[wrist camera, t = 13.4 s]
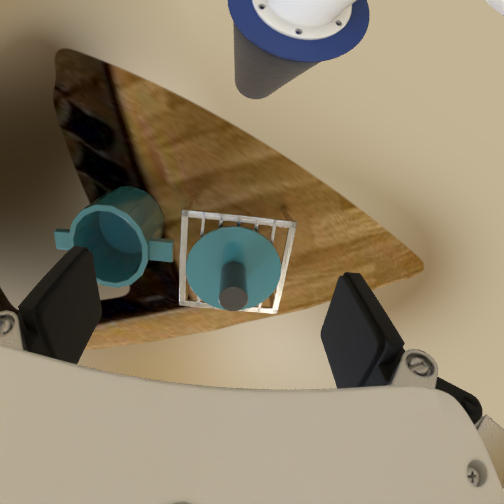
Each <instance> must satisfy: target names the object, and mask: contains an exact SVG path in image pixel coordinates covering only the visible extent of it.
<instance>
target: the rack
mask: <svg viewBox="0 0 504 504" xmlns="http://www.w3.org/2000/svg"><path fill="white" fill-rule="evenodd" d="M195 202H196V198H195V197H191V198H190V200H189V202H188V204H187V206H186V208H185V209H182V217H181V240H180V277H179V305H183V306H192V307H202V308H212V309H219V308H216V307H213V306H211V305H209V304H207V303H206V302H204V301H200V298H199V297H198V296H197V301H196V300H187V297H188V292H189V288H190V285H189V282H188V279H187V278H186V262H187V242H188V223H189V217H192V218H202V222H201V235H200V238H201V237H202V236H203V235H204V231H205V219H213V220H220V221H219V228H221V227H222V226H223V221H232V222H237V226H241V222H242V223H251V224H255V226H254V231H257V232H258V225H259V224H260V225H269V226H272V230H271V236H270V242H271V243H272V244H273V241H274V235H275V230H276V226H277V227H286V228H288V232H287V237H286V242H285V247H284V252H283V257H282V262H281V276H280V280H279V283H278V285H277V287H276V291H275V296H274V293H272V294H271V295H270V296H269V302H270V307H264V306H261V305H262V303H260V304H258V306H254V307H252V308H248V309H244V310H238V311H246V312H259V313H274V314H277V312H278V308H279V303H280V299H281V294H282V290H283V286H284V281H285V277H286V272H287V267H288V263H289V258H290V254H291V249H292V244H293V239H294V234H295V230H296V225H297V222H296V221H293V219H292V217H291V216H290V214H289V212H288V210H287V208H286V207H282V209H281V211H282V214H283V216H284V218H285V220H282V219H274V218H265V217H257V216H248V215H239V214H229V213H220V212H210V211H199V210H192V209H193V206H194V204H195ZM222 310H223V309H222Z"/></svg>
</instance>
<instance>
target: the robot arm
mask: <svg viewBox="0 0 504 504" xmlns="http://www.w3.org/2000/svg"><path fill="white" fill-rule="evenodd" d="M355 1H356V0H252V3H253V6H254V9H255V10H256V12H257V14H258V16H259V17H260V18H261V19H262V20H263V21H264V22H265V23H266V24H267V25H268V26H270V27H271V28H272V29H274V30H276V31H277V32H279V33H281V34H284V35H286V36H289V37H292V38H296V39H303V40H318V39H323V38H327V37H329V36H332V35H334V34H335V33H337V32H338V31H340V30H341V29H342V28H343V27H344V26H345V25H346V24H347V22H348V21H349V18H350V16H351V11H352V4H353V3H354V2H355ZM485 1H486V2H487V3H488V4H489V5H490V6H491V7H493V8H494V9H495V10H496V11H498V12H499V13H501V14H502V15H503V16H504V0H485ZM261 7H262V8H263V9H260V8H261ZM336 23H337V24H338V25H337V24H336ZM296 32H299V34H297V33H296ZM18 308H19V311H20V313H19V314H18V315H16V314H15V313H14V312H11V311H1V312H0V504H504V492H503V488H504V429H503V428H501V427H500V426H499V425H498V424H497V423H496V422H495V421H493V420H492V419H491V418H490V417H489V416H487V415H485V416H484V417H483V416H482V407H481V404H480V403H479V401H478V399H477V398H476V397H475V396H473V395H472V394H470V393H468V392H466V391H464V390H462V389H460V388H458V387H456V386H454V385H452V384H451V383H448V382H447V381H445V380H443V379H441V378H439V377H437V375H438V366H437V363H436V362H435V360H434V359H433V358H432V357H431V356H430V355H429V354H427V353H425V352H424V351H421V350H417V349H410V350H407V351H405V350H404V348H403V345H404V341H403V340H402V338H401V336H400V335H399V333H398V331H397V330H396V328H395V327H394V325H393V324H392V322H391V320H390V319H389V317H388V315H387V314H386V312H385V311H384V309H383V307H382V306H381V305H380V303H379V301H378V300H377V298H376V297H375V295H374V294H373V292H372V291H371V289H370V288H369V286H368V285H367V283H366V282H365V280H364V279H363V277H362V276H361V274H360V273H349V272H346V273H344V275H343V276H340V277H339V279H338V281H337V285H336V288H335V291H334V294H333V297H332V300H331V303H330V306H329V309H328V312H327V315H326V318H325V321H324V324H323V326H322V330H321V339H322V342H323V345H324V348H325V351H326V354H327V357H328V361H329V363H330V366H331V370H332V373H333V376H334V379H335V382H336V386H337V389H311V390H270V389H243V388H226V387H213V386H201V385H192V384H183V383H175V382H167V381H160V380H153V379H147V378H141V377H135V376H129V375H123V374H118V373H113V372H108V371H103V370H98V369H94V368H90V367H86V366H81V365H77V363H78V361H79V359H80V357H81V355H82V353H83V351H84V349H85V347H86V345H87V343H88V341H89V339H90V337H91V335H92V333H93V331H94V329H95V327H96V326H97V324H98V322H99V320H100V318H101V315H102V307H101V302H100V297H99V292H98V286H97V279H96V273H95V266H94V258H93V253H92V252H90V251H89V249H88V248H87V247H80V246H73V247H72V248H71V249H70V250H69V251H68V252H67V253H66V254H65V255H64V256H63V257H62V258H61V259H60V260H59V261H58V262H57V263H56V265H55V266H54V267H53V268H52V269H51V270H50V271H49V272H48V273H47V274H46V275H45V276H44V277H43V279H42V280H41V281H40V282H39V283H38V284H37V285H36V286H35V287H34V289H33V290H32V291H31V292H30V293H29V294H28V296H27V297H26V298H25V299H24V300H23V301H22V303H21V304H20V305H19V306H18Z"/></svg>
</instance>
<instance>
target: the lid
mask: <svg viewBox="0 0 504 504" xmlns="http://www.w3.org/2000/svg"><path fill="white" fill-rule="evenodd" d="M186 275H187V279H188V282H189V285H190V287H191V288H192V290H193V291H194V293H195V294H196V295H197V296H198V297H199V298H200V299H201V300H203V301H204V302H206V303H207V304H209V305H211V306H213V307H216V308H219V309H223V310H229V311H238V310H244V309H248V308H252V307H254V306H256V305H258V304H260V303H262V302H263V301H265V300H266V299H267V298H268V297H269V296H270V295H271V294H272V293H273V292H274V290H275V289H276V287H277V285H278V283H279V280H280V276H281V262H280V258H279V255H278V252H277V250H276V248H275V247H274V246H273V244H272V243H271V242H270V241H269V240H268V239H267V238H266V237H265V236H263V235H262V234H260V233H259V232H257V231H254V230H252V229H249V228H246V227H240V226H227V227H221V228H218V229H215V230H212V231H210V232H208V233H206V234H205V235H203V236H202V237H201V238H200V239H199V240H197V242H196V243H195V244H194V245H193V247H192V248H191V250H190V252H189V255H188V258H187V262H186Z"/></svg>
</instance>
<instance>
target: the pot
mask: <svg viewBox="0 0 504 504" xmlns="http://www.w3.org/2000/svg"><path fill="white" fill-rule="evenodd" d="M163 231H164V219H163V215H162V212H161V209H160V207H159V205H158V204H157V202H156V201H155V200H154V199H153V198H152V197H151V196H150V195H149V194H148V193H146V192H145V191H143V190H141V189H139V188H135V187H130V186H123V187H118V188H115V189H113V190H111V191H109V192H107V193H105V194H104V195H103V196H101V197H100V198H98V199H97V200H95V201H94V202H93V203H91V204H90V205H88V206H87V207H86V208H84V209H83V210H81V212H80V213H79V214H78V215H77V216H76V218H75V219H74V220H73V222H72V225H71V228H70V230H67V229H56V230H55V231H54V235H55V241H56V248H57V249H63V250H70V249H71V248H72V247H73V246H80V247H87V248H88V249H89V251H90V252H92V253H93V258H94V266H95V273H96V279H97V283H99V284H101V285H103V286H109V287H116V288H117V287H118V288H119V287H122V286H126V285H130V284H132V283H133V282H135V281H136V280H137V279H138V278H139V277H140V276H142V274H143V273H144V271H145V269H146V267H147V265H148V263H149V261H150V260H157V261H166V262H172V261H173V259H174V240H173V239H162V235H163Z"/></svg>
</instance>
